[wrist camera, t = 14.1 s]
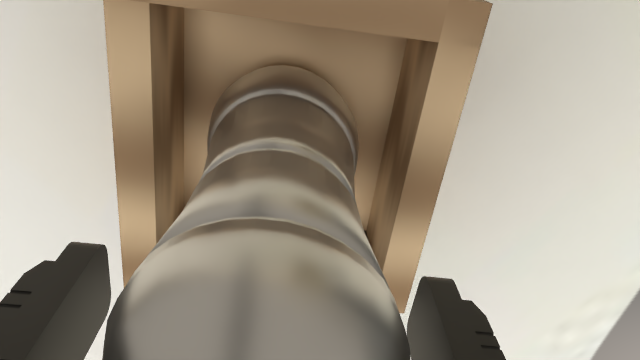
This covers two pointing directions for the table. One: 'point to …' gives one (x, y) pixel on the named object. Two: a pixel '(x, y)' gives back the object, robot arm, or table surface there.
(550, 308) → the table surface
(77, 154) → the table surface
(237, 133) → the metal bottle
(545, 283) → the table surface
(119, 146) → the caddy
